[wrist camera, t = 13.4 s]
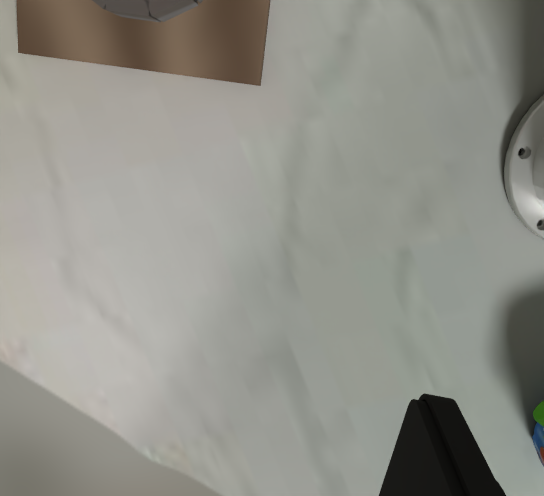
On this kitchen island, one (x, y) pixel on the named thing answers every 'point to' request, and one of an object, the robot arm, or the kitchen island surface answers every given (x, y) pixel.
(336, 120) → the kitchen island surface
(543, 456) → the snack cup
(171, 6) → the can holder
